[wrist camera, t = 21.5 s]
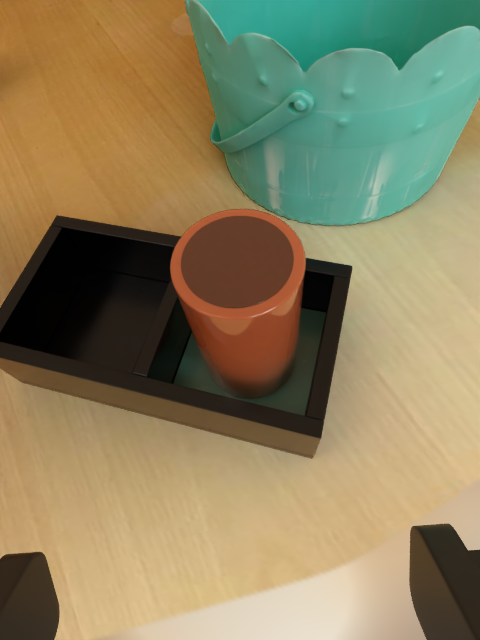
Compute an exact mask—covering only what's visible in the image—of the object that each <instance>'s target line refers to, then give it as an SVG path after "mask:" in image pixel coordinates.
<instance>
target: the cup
mask: <svg viewBox="0 0 480 640" xmlns="http://www.w3.org/2000/svg"><path fill="white" fill-rule="evenodd" d="M305 265H306V259H305V252H304V248H303V245H302V243H301V241H300V239H299V238H298V236H297V235H296V233H295V232H294V231H293V230H292V228H291V227H289V226H288V225H287V224H286V223H285V222H283V221H282V220H280V219H279V218H277V217H275V216H273V215H270V214H268V213H265V212H261V211H257V210H250V209H233V210H226V211H222V212H218V213H215V214H212V215H210V216H207V217H205V218H203V219H201V220H200V221H198V222H197V223H195V224H194V225H193V226H191V227H190V228H189V229H188V230H187V231H186V232H185V233H184V234H183V235H182V237H181V238H180V239H179V241H178V243H177V244H176V246H175V248H174V251H173V254H172V257H171V262H170V275H171V279H172V283H173V286H174V288H175V291H176V293H177V296H178V298H179V301H180V304H181V306H182V309H183V311H184V314H185V316H186V319H187V321H188V324H189V326H190V329H191V331H192V334H193V337H194V339H195V342H196V344H197V347H198V349H199V352H200V354H201V357H202V359H203V362H204V364H205V367H206V370H207V372H208V374H209V376H210V378H211V379H212V381H213V382H214V383H215V384H216V385H217V386H218V387H219V388H220V389H221V390H223V391H224V392H226V393H228V394H230V395H232V396H235V397H239V398H247V399H252V398H260V397H264V396H267V395H269V394H271V393H273V392H275V391H277V390H278V389H279V388H281V387H282V386H283V385H284V384H285V383H286V382H287V381H288V379H289V378H290V376H291V375H292V373H293V370H294V368H295V364H296V357H297V347H298V337H299V327H300V317H301V307H302V297H303V286H304V276H305Z"/></svg>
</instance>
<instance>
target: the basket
mask: <svg viewBox="0 0 480 640" xmlns="http://www.w3.org/2000/svg"><path fill="white" fill-rule="evenodd" d="M185 3H186V11H187V14H188V16H189V18H190V22H191V26H192V29H193V33H194V38H195V42H196V46H197V50H198V54H199V60H200V64H201V65H202V69H203V73H204V76H205V79H206V82H207V86H208V90H209V94H210V98H211V102H212V105H213V109H214V113H215V116H216V119H215V122H214V124H213V127H212V130H211V134H210V140H211V142H212V143H213V144H214V145H215V146H216V147H218V148H219V149H220V150H221V151H222V152H224V153H225V159H226V163H227V166H228V169H229V171H230V173H231V176H232V178H233V179H234V180H235V182H236V184H237V185H238V186H239V187H240V188H241V190H242V191H243V192H244V193H245V194H247V195H248V197H249V198H250V199H251V200H254V201H255V202H256V203H257V204H258V205H260V206H263V207H264V208H265V209H267V210H269V211H272V212H274V213H275V214H277V215H279V216H284V217H286V218H287V219H290V220H297V221H298V222H301V223H310V224H314V225H317V224H321V225H324V226H328V225H336V226H341V225H345V224H347V225H354V224H357V223H367V222H369V221H371V220H379V219H381V218H382V217H388V216H390V215H392V214H393V213H395V212H399V211H401V210H403V209H404V208H405V207H408V206H410V205H412V204H413V203H414V202H415V201H417V200H419V199H420V198H421V197H422V196H423V194H425V193H427V192H428V191H429V189H430V188H431V186H433V185H434V183H435V182H436V181H437V178H438V177H439V176H440V174H441V172H442V170H443V168H444V166H445V164H446V161H447V159H448V158H449V156H450V154H451V152H452V150H453V148H454V146H455V144H456V142H457V141H458V139H459V136H460V134H461V132H462V131H463V129H464V127H465V125H466V123H467V122H468V120H469V118H470V115H471V113H472V111H473V109H474V107H475V105H476V103H477V101H478V99H479V97H480V0H185Z"/></svg>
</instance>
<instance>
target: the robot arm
mask: <svg viewBox="0 0 480 640" xmlns="http://www.w3.org/2000/svg"><path fill="white" fill-rule="evenodd" d="M410 591H411V596H412V601H413V605H414V608H415V611H416V614H417V617H418V619H419V622H420V624H421V627H422V629H423V632H424V634H425V637H426V639H427V640H480V550H471V551H468V550H467V548H466V547H465V545H464V543H463V542H462V540H461V539H460V537H459V536H458V534H457V532H456V531H455V530H454V528H453V527H452V526H451V525H450V524H436V525H422V526H413V527H412V528H411V533H410ZM58 623H59V603H58V599H57V596H56V592H55V588H54V585H53V581H52V578H51V574H50V571H49V567H48V563H47V560H46V557H45V555H44V554H43V553H42V552H33V553H19V554H7V555H4V556H3V557H2V558H1V559H0V640H54V638H55V636H56V632H57V628H58Z"/></svg>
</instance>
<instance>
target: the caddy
mask: <svg viewBox="0 0 480 640" xmlns="http://www.w3.org/2000/svg"><path fill="white" fill-rule="evenodd" d="M180 238H181V237H180V236H174V235H169V234H163V233H157V232H151V231H145V230H139V229H134V228H128V227H122V226H116V225H110V224H104V223H99V222H93V221H87V220H81V219H75V218H69V217H64V216H56V217H55V219H54V221H53V222H52V224H51V226H50V227H49V229H48V231H47V232H46V234H45V236H44V237H43V239H42V240H41V242H40V244H39V245H38V247H37V249H36V250H35V252H34V254H33V255H32V257H31V258H30V260H29V262H28V263H27V265H26V267H25V268H24V270H23V272H22V273H21V275H20V277H19V278H18V280H17V281H16V283H15V285H14V286H13V288H12V290H11V291H10V293H9V295H8V296H7V298H6V299H5V301H4V303H3V304H2V306H1V308H0V368H1V369H2V370H4V371H5V372H7V373H8V374H10V375H11V376H13V377H14V378H16V379H18V380H19V381H21V382H22V383H26V384H30V385H33V386H37V387H41V388H45V389H49V390H52V391H56V392H60V393H64V394H68V395H71V396H75V397H79V398H83V399H87V400H91V401H94V402H98V403H102V404H106V405H110V406H113V407H117V408H121V409H125V410H129V411H132V412H136V413H140V414H144V415H148V416H151V417H155V418H159V419H163V420H167V421H170V422H174V423H178V424H182V425H186V426H189V427H193V428H197V429H201V430H205V431H209V432H212V433H216V434H220V435H224V436H228V437H231V438H235V439H239V440H243V441H247V442H250V443H254V444H258V445H262V446H266V447H269V448H273V449H277V450H281V451H285V452H288V453H292V454H296V455H300V456H304V457H307V458H311V459H312V458H313V457H314V455H315V452H316V450H317V447H318V444H319V442H320V439H321V435H322V430H323V425H324V419H325V414H326V408H327V403H328V397H329V392H330V387H331V381H332V376H333V370H334V365H335V360H336V354H337V349H338V343H339V338H340V332H341V327H342V322H343V316H344V311H345V305H346V300H347V294H348V289H349V284H350V278H351V273H352V266H349V265H344V264H338V263H332V262H326V261H320V260H314V259H309V258H305V259H306V265H305V276H304V286H303V297H302V307H301V317H300V327H299V337H298V347H297V357H296V364H295V368H294V370H293V373H292V375H291V376H290V378H289V379H288V381H287V382H286V383H285V384H284V385H283V386H282V387H281V388H279V389H278V390H277V391H275V392H273V393H271V394H269V395H267V396H264V397H260V398H252V399H247V398H239V397H235V396H232V395H230V394H228V393H226V392H224V391H223V390H221V389H220V388H219V387H218V386H217V385H216V384H215V383H214V382H213V381H212V379H211V378H210V376H209V374H208V372H207V370H206V367H205V364H204V362H203V359H202V357H201V354H200V352H199V349H198V347H197V344H196V342H195V339H194V337H193V334H192V331H191V329H190V326H189V324H188V321H187V319H186V316H185V314H184V311H183V309H182V306H181V304H180V301H179V298H178V296H177V293H176V291H175V288H174V286H173V283H172V279H171V275H170V262H171V257H172V254H173V251H174V248H175V246H176V244H177V243H178V241H179V239H180Z"/></svg>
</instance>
